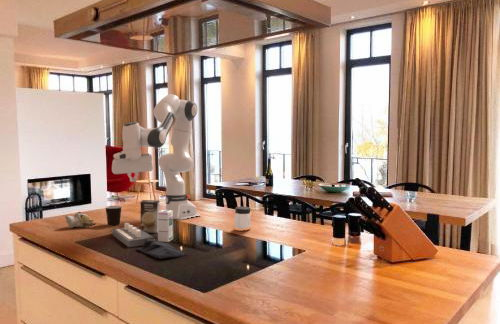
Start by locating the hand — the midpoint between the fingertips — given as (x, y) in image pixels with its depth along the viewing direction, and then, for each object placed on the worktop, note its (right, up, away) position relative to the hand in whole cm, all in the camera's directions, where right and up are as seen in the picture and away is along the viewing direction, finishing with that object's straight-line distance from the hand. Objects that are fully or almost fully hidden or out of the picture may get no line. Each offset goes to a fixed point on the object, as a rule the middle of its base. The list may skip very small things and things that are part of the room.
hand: (133, 181), depth 211 cm
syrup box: (+18, -28, -9) cm, 35 cm away
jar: (+55, -27, +14) cm, 63 cm away
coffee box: (+7, -27, +8) cm, 29 cm away
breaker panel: (+2, -28, -8) cm, 29 cm away
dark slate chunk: (+20, -30, -29) cm, 47 cm away
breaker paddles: (+2, -25, -9) cm, 26 cm away
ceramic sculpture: (-33, -26, +15) cm, 45 cm away
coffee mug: (-17, -25, +23) cm, 38 cm away
